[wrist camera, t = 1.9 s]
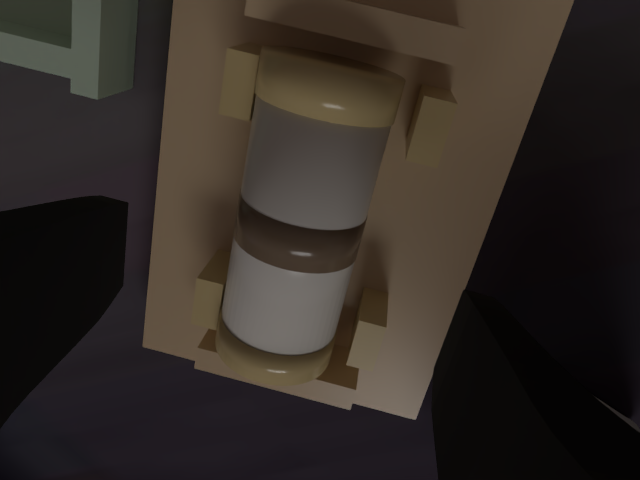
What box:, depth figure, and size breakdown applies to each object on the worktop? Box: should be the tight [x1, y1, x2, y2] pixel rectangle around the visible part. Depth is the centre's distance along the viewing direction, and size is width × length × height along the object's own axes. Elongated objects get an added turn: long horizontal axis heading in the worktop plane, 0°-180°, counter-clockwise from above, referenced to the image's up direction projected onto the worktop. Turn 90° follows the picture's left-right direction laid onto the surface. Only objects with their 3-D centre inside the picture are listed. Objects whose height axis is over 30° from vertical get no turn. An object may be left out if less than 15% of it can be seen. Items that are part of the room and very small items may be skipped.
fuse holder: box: [143, 0, 574, 420], centre depth 16 cm, size 14×10×4 cm
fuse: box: [215, 45, 406, 386], centre depth 15 cm, size 8×4×4 cm, turn 168°
